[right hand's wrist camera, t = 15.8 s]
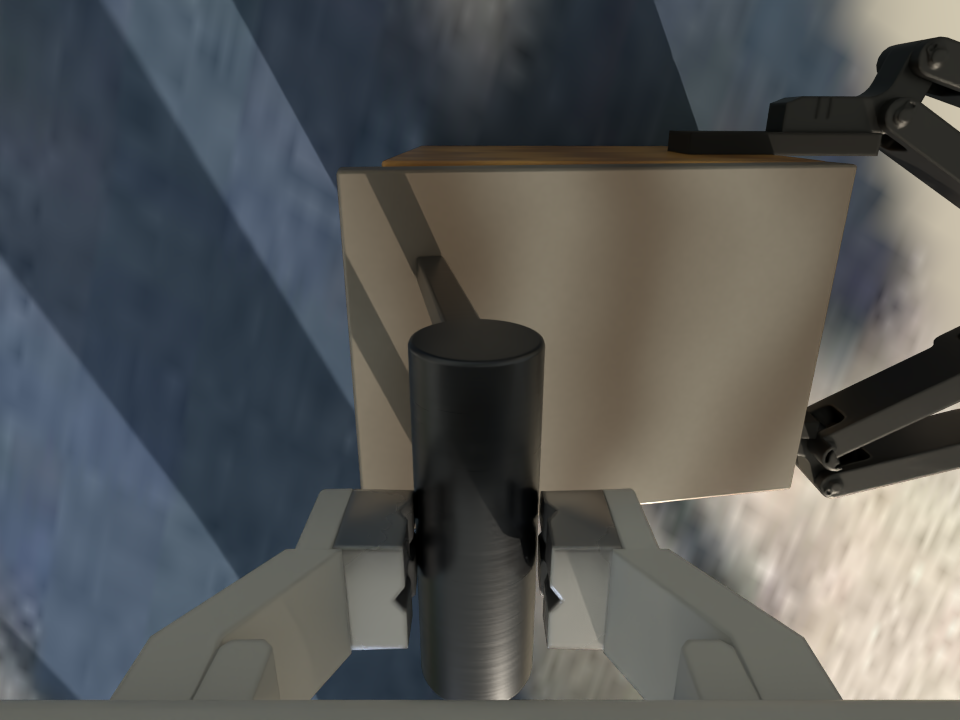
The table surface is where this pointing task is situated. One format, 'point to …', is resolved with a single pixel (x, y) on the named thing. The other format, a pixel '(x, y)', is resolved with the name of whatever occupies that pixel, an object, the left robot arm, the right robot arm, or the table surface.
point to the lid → (572, 358)
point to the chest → (563, 156)
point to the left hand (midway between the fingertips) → (662, 289)
